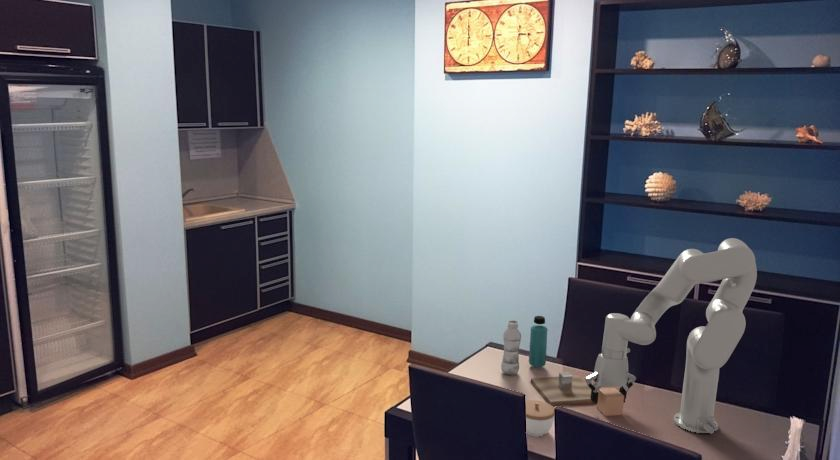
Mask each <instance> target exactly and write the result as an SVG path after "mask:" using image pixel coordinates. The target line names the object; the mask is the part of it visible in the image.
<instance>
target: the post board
mask: <svg viewBox="0 0 840 460" xmlns="http://www.w3.org/2000/svg"><path fill="white" fill-rule="evenodd" d="M530 383H531V385H532V386H533V387H534V389H536V391H538V393H539V394H540V395H541V396H542V398H543V399H544V400H545V402H546V403H548V404H550V405H551V406H553V407H554V406H568V405H581V404H593V403H594V402H593V401H592V400H591V389H590V387H589V386H588V385H587V383H586V381H584V380H583V378H581V377H580V376H579V375H577V374H576V375H573V374H571V373H570V372H569V371H565V372H558V376H548V377H532V378H530Z"/></svg>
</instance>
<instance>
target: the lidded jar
mask: <svg viewBox="0 0 840 460" xmlns="http://www.w3.org/2000/svg"><path fill="white" fill-rule="evenodd" d="M525 401H526V423H527V433H526V435H529V436H530V437H535V438H539V436H541V437H544V436H545V435H546V434H547V433H549V431H550V430H551V428H552V427H553V424H554V419H555V414H554V409H555V408H554V406H551V405H550V404H548V403H547V401H542V400H538V399H537V400H536V399H530V400H525ZM544 434H545V435H544ZM543 435H544V436H543Z"/></svg>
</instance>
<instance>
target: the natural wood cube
mask: <svg viewBox="0 0 840 460" xmlns="http://www.w3.org/2000/svg"><path fill="white" fill-rule="evenodd" d="M597 392H598V393H599V394H598V403H597V404H596V408H597V410H599V412H600V413H602V415H603V416H605V417H611V416H623V414H624V413H623V412H624V395H623V394H621V393H620V392H619V390H618V389H617V388H616V387H603V388H600V389H599V390H598V391H597Z"/></svg>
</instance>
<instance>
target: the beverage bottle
mask: <svg viewBox="0 0 840 460" xmlns="http://www.w3.org/2000/svg"><path fill="white" fill-rule="evenodd" d="M533 323H535V324H533V325H532V326H530V336H529V338H530V339H529V344H528V345H529V351H528V364H529V365H530V366H532V367H536V368H541V367H545V366H546V362H547V348H548V347H547V345H548V342H547V341H548V331H549V330H548V327H547V326H546V325H545V324H546V317H544V316H542V315H535V316H534V318H533Z"/></svg>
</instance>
